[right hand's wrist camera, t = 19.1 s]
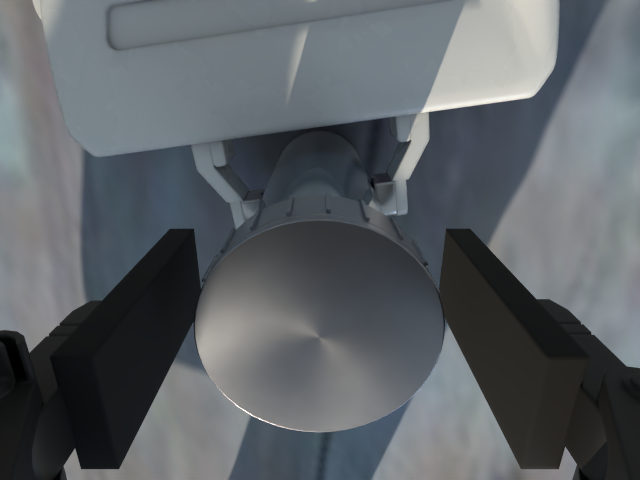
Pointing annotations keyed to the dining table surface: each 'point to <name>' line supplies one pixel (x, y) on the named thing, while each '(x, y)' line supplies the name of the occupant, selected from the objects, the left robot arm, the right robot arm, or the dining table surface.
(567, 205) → the dining table surface
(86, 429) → the right robot arm
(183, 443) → the dining table surface
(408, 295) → the lid
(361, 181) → the bottle
